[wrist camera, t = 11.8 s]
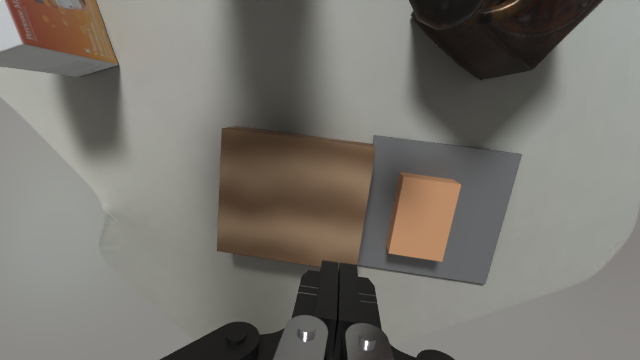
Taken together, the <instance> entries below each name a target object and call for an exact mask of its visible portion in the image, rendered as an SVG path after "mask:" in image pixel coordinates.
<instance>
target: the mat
mask: <svg viewBox="0 0 640 360" xmlns="http://www.w3.org/2000/svg"><path fill="white" fill-rule="evenodd" d="M373 145H374V146H375V148H376V152H375V159H374V165H373V171H372V177H371V183H370V189H369V195H368V201H367V207H366V213H365V219H364V225H363V231H362V237H361V244H360V250H359V256H358V262H357V265H362V266H368V267H375V268H381V269H388V270H394V271H401V272H407V273H414V274H420V275H427V276H434V277H440V278H447V279H453V280H460V281H466V282H473V283H479V284H485V283H486V280H487V276H488V273H489V269H490V266H491V262H492V259H493V255H494V252H495V248H496V245H497V241H498V237H499V234H500V230H501V227H502V223H503V220H504V216H505V213H506V209H507V206H508V202H509V199H510V195H511V192H512V188H513V184H514V181H515V177H516V174H517V170H518V167H519V163H520V160H521V156H522V154H517V153H510V152H502V151H494V150H486V149H478V148H470V147H462V146H455V145H447V144H439V143H431V142H423V141H415V140H407V139H399V138H392V137H384V136H376V135H374V140H373ZM400 172H403V173H410V174H418V175H425V176H432V177H439V178H446V179H453V180H455V181H456V182H458V183H460V184H461V188H460V192H459V196H458V200H457V204H456V208H455V212H454V216H453V220H452V224H451V228H450V232H449V236H448V240H447V244H446V249H445V253H444V257H443V261H442V262H440V261H434V260H428V259H421V258H415V257H408V256H402V255H396V254H389V253H388V250H387V246H386V241H387V236H388V231H389V226H390V221H391V215H392V210H393V205H394V200H395V195H396V190H397V185H398V179H399V174H400Z"/></svg>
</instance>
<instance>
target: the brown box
mask: <svg viewBox="0 0 640 360" xmlns="http://www.w3.org/2000/svg"><path fill="white" fill-rule="evenodd" d="M375 152H376V148H375V146H374V145H373V144H368V143H360V142H353V141H345V140H337V139H329V138H322V137H314V136H306V135H298V134H291V133H283V132H275V131H267V130H260V129H252V128H244V127H229V128H222V140H221V165H220V189H219V214H218V239H217V251H220V252H227V253H233V254H240V255H246V256H253V257H259V258H266V259H272V260H279V261H285V262H291V263H298V264H304V265H311V266H317V267H321V264H322V260H325V261H333V262H339V264H340V262H341V263H348V264H356V265H357V262H358V256H359V250H360V244H361V237H362V231H363V225H364V219H365V213H366V207H367V201H368V195H369V189H370V183H371V177H372V171H373V165H374V159H375ZM338 270H339V265H338Z"/></svg>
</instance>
